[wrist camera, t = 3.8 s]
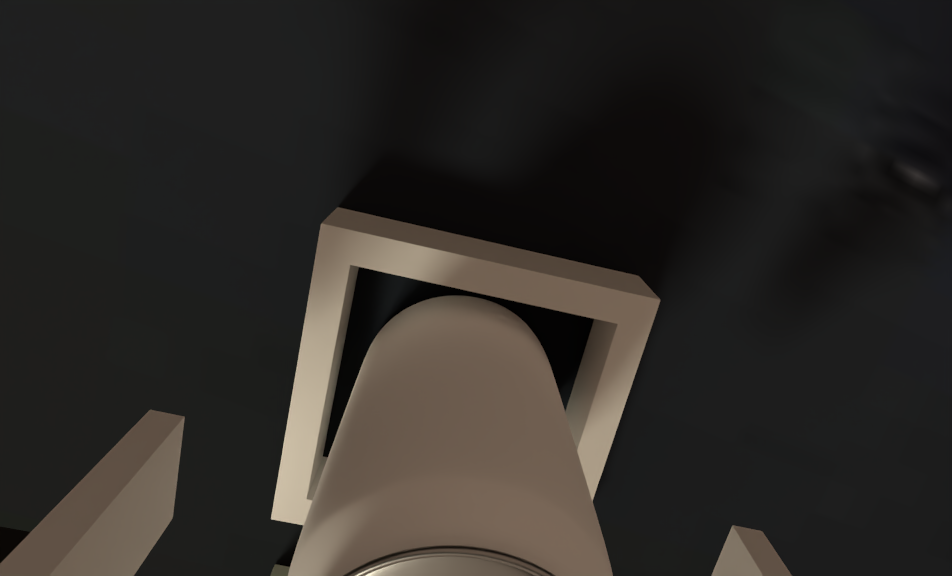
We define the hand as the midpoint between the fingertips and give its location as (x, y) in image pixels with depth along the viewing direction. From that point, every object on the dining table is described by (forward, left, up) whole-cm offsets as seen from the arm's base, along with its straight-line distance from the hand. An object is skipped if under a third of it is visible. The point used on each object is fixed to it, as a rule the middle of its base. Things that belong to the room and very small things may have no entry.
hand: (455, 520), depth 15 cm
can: (0, 0, -8) cm, 8 cm away
